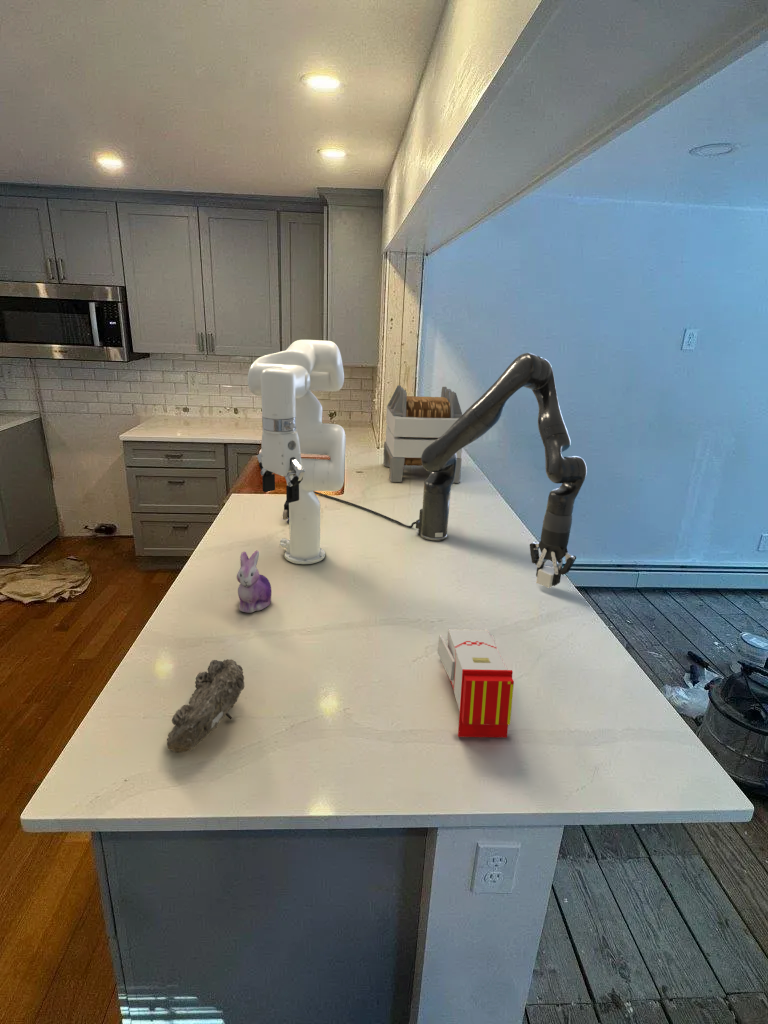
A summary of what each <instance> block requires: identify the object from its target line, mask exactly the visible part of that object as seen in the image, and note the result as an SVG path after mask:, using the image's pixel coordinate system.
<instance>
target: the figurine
mask: <svg viewBox="0 0 768 1024" xmlns="http://www.w3.org/2000/svg"><path fill="white" fill-rule="evenodd" d="M259 557H260V551H259V550H255V551H254V552H253V553H252V554H251V556H250V557H249V556H248V554H247V552H246V551H242V552H241V553H240V557H239V558H240V567H239V569H238V571H237V573H236V580H237V582H238V583H239V586H238V588H237V596H238V599H239V608H238V609H239V611H240V612H243V613H250V614H251V613H254V612H258V611H261V610H264V609H266V608H267V607H268V606H270V605H271V602H272V586H271V582H270V580H269V579H268V578H267V576H265V575H263V574H260V572H259V569H258V568H257V564H258V562H259Z"/></svg>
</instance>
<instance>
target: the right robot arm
mask: <svg viewBox="0 0 768 1024" xmlns="http://www.w3.org/2000/svg"><path fill="white" fill-rule="evenodd" d="M522 388H526V389H529V390H531V392H532V393H533V395H534V397H535V398H536V401H537V405H538V415H537V429H538V433H539V435H540V439H541V442H542V444H543V448H544V461H545V463H544V465H545V467H544V468H545V474H546V477H547V478H548V479H549V481H550V482H552V483H554V484H561V485H560V486H559V487H556V488H554V489H552V490H550V492H549V493H548V497H547V503H546V509H545V513H544V516H543V519H542V527H541V533H540V541H539V542H538V541H533V542H530V544H529V552H530V560H531V563H532V564H535V566H536V572H535V576H536V578H537V575H538V570H540V569H542V568H544V567H545V565H546V563H547V560H548V561H550V562H551V563H552V568H554V576H553V581H552V585H553V586H552V587H556V586H557V585H558V584H560V582H561V579H562V576H564V575H566V574H568V573H569V572H570V570H571V568H572V566H573V564H574V563H575V562H576V559H577V556H576V555H572V554H570V553H569V551H568V545H569V540H570V534H571V529H572V524H573V513H574V507H575V502H576V499H577V497H578V495H579V493H580V490H581V489H582V486H583V484H584V482H585V480H586V477H587V473H588V468H587V464H586V461H585V460H584V458H582V457H581V456H577V455H573V456H563V455H562V453H563V452H566V451H567V450H568V449H569V448H571V444H572V442H571V438H570V435H569V431H568V429H567V426H566V423H565V421H564V418H563V415H562V410H561V408H560V404H559V398H558V392H557V387H556V381H555V375H554V370H553V367H552V364H551V362H550V361H549V360H547V359H546V358H545V357H542V356H539V355H536V354H534V353H531V352H525V353H522V354H519V355H518V356H517V357H515V358H514V359H513V361H512V362H511V363H510V364H509V365H508V367H507V368H506V369H505V370H504V371H503V372H502V374H501V375H500V376H499V377H498V378H497V380H495V382H494V383H493V384H492V385H491V386H490V387H489V388H488V389H487V390H486V391H485V392H484V393H483V394H482V395H481V396H480V397H479V398H478V399H476V401H475V402H473V403H472V404H471V405H470V406H469V407H468V408H467V409H466V410H465V411H464V412H463V413H462V416H461V417H460V418H459V419H458V420H457V421H456V422H455V423H454V424H453V425H452V426H451V427H450V428H449V429H448V430H447V431H446V432H445V433H444V434H443V435H442V436H441V437H439V438H438V439H437V440H436V441H434V442H433V443H432V444H430V445H429V446H428V447H426V448H425V450H424V451H423V453H422V456H421V463H422V466H421V467H423V469H424V470H426V471H427V472H428V473H429V475H428V476H427V478H425V480H424V482H423V493H422V496H423V497H422V506H421V508H420V509H419V516H418V519H416V520H415V521H413V522H412V523H411V524H410V525H407V524H404V523H402V522H400V521H399V520H397V519H394V518H391V517H389V516H388V515H384V514H382V513H380V512H377V511H375V510H372V509H369V508H367V507H364V506H361V505H359V504H356V503H353V502H350V501H347V500H345V499H341V498H337V497H334V496H331V495H328V494H326V493H325V494H324V493H321V492H319V491H313V492H314V493H315V495H317V496H322V497H324V498H325V497H326V498H328V499H332V500H335V501H338V502H342V503H345V504H347V505H351V506H354V507H357V508H358V509H362V510H364V511H367V512H370V513H372V514H374V515H377V516H380V517H382V518H384V519H386V520H389V521H391V522H394V523H395V524H398V525H400V526H403V527H404V528H408V529H411V528H412V529H413V527H414V526H415V529H417V535H418V536H420V538H421V539H424V540H426V541H432V542H440V541H444V540H446V539H447V538H448V525H449V517H450V516H449V514H450V504H451V494H452V493H451V491H452V486H453V484H454V483H453V481H454V476H455V469H456V459H457V457H456V452H458V451H459V450H460V449H462V450H463V449H464V448H465V447H466V446H469V445H470V444H473V442H475V441H476V440H478V439H480V438H481V437H483V436H484V435H485V434H486V433H487V432H488V431H490V430H491V429H492V428H493V427H494V426H495V425H496V424H497V423H498V422H499V420H500V419H501V417H502V414H503V412H504V409H505V405H506V404H507V402H508V400H509V399H510V398H511V397H512V396H514V394H515V393H516V392H517V391H519V390H520V389H522ZM563 558H565V561H564V562H565V563H564V562H563V560H564V559H563ZM563 564H564V565H563Z"/></svg>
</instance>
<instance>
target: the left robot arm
mask: <svg viewBox="0 0 768 1024" xmlns="http://www.w3.org/2000/svg"><path fill="white" fill-rule="evenodd" d="M344 382H345V371H344V365H343V359H342V353H341V350H340V348H339V346H338V345H337V343H335V342H334V341H331V340H321V339H297V340H294V341H293V342H292V343H291V344H290V345H289V346H288V347H287V349H286V350H281V351H278V352H274V353H269V354H266V355H262V356H260V357H257V358H256V359H255V360H254V361H253V363H252V364H251V365H250V367H249V369H248V372H247V386H248V389H249V391H250V392H251V393H252V394H253V395H255V396H258V397H261V422H262V423H261V424H262V425H261V426H262V427H261V428H262V433H261V446H260V448H261V449H260V453H258V454H257V455H256V457H257V461H258V466H259V468H260V475H261V476H262V477H261V479H262V480H261V481H262V484H261V485H262V492H263V493H269V492H273V491H275V490H276V475H278V476H281V477H284V479H285V481H286V486H285V492H286V493H285V495H286V496H285V497H286V499H285V502H286V501H287V502H288V503H289V523H288V527H289V530H288V531H289V532H288V533H289V539H287V538H282V537H281V538H280V540H279V547H280V548H285V549H286V550H285V552H284V558H285V560H286V561H288V562H290V563H292V564H296V565H312V564H316V563H320V562H321V561H322V560H324V559H325V557H326V551H325V550H324V549H323V548H321V501H320V499H319V498H318V495H317V494H315V493H314V492H313V491H315V492H339V491H340V490H342V489H343V487H344V483H345V473H346V472H345V471H346V468H345V467H346V447H347V436H346V432H345V429H344V427H343V426H341V425H340V424H337V423H327V422H326V423H323V409H324V408H323V405H322V404H321V402H320V400H319V399H318V398H317V396H316V395H315V394H314V393H313V392H328V393H329V392H331V393H332V392H333V393H334V392H339V391H341V389H342V388H343V386H344V384H345V383H344ZM312 391H313V392H312ZM301 454H302V455H313V456H314V455H315V456H328V457H329V459H325V458H324V459H322V458H309V457H308V458H307V457H302V455H301Z"/></svg>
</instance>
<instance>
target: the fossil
mask: <svg viewBox="0 0 768 1024" xmlns="http://www.w3.org/2000/svg"><path fill="white" fill-rule="evenodd" d="M243 670H244V669H243V667H242V665H240V664H237V662H236V661H235V660H234V659H232V658H231V659H227V658H226V659H224V660H223V661H222V660H217V659H212V660H211V661H210V663H209V665H208V666H207V671H201V672H199V673H198V674H197V675H196V676H195V680H194V684H195V685H194V687H195V689H194V690H193V693H192V694H191V697H190V698H189V700H188V704H184V705H182V706H181V707H180V709H177V710H176V711H175V713H174V715H173V716H172V718H171V723H172V724H173V727H172V730H171V731H170V732H168V734H167V738H166V741H167V742H166V745H167V749H168V750H169V751H173V752H174V753H176V754H178V753H182V752H188V751H189V752H192V751H193V750H195V748H196V747H197V746H199V744H200V743H201V742H203V741H204V740H205V739H206V738H207V737H208V736H209V735H210V734H211V733H212V732H214V730H215V729H217V727H218V726H219V724H220V722H221V721H222V720H223V719H224V718H225V716H226V717H227V719H229V720H233V717H232V715H230V714H229V710H230V709H231V708H234V706H235V704H236V703H237V702H238V699H239V697H240V695H241V693H242V691H243V690H245V689H244V688H245V675H244V671H243Z"/></svg>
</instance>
